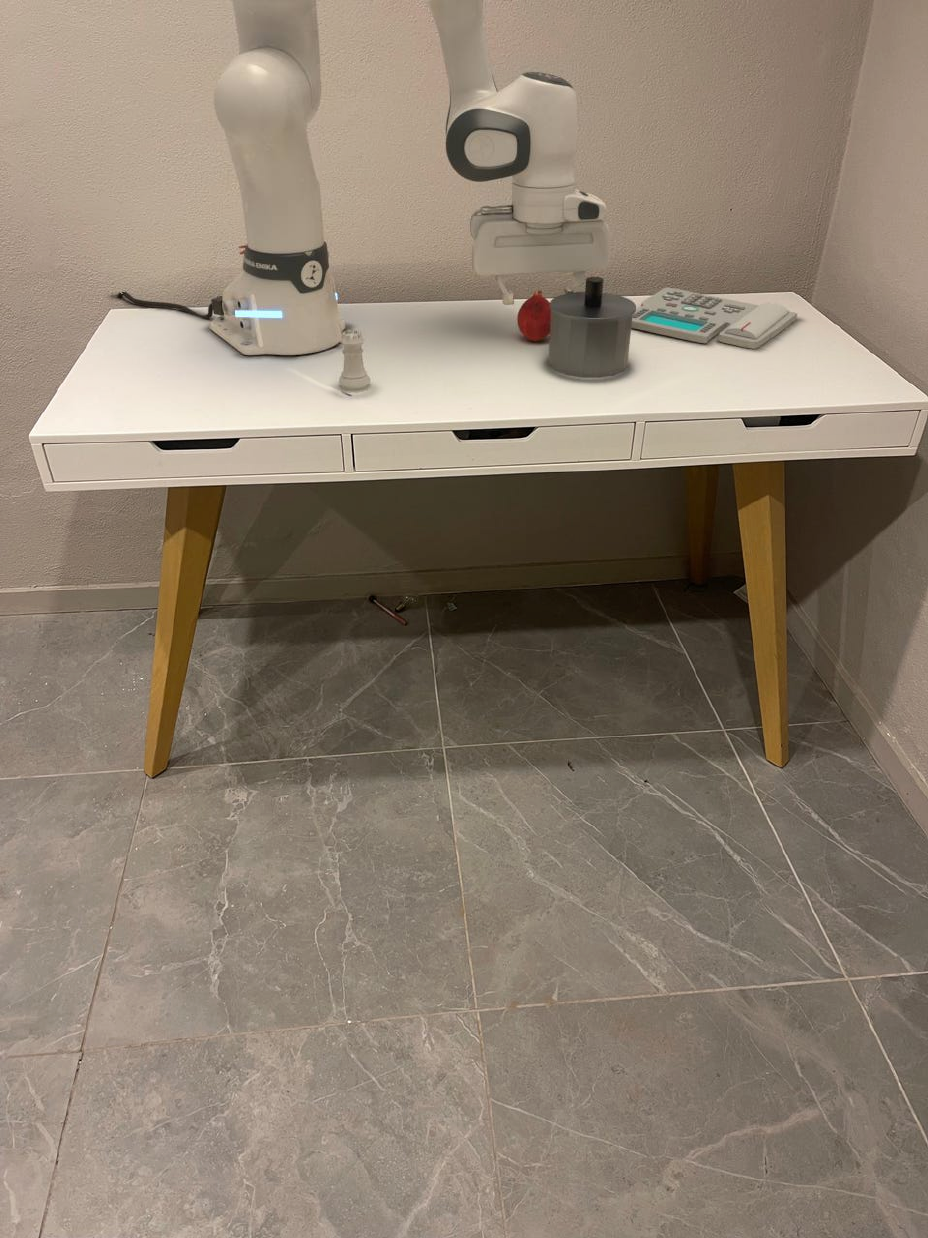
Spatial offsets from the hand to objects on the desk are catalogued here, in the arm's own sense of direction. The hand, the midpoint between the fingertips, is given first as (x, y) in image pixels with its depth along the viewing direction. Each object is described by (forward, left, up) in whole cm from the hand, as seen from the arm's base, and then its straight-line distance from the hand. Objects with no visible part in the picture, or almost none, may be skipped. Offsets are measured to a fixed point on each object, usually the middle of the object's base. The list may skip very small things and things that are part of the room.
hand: (539, 302), depth 145 cm
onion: (0, 0, -6) cm, 6 cm away
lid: (+12, -2, +2) cm, 12 cm away
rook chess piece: (-5, -32, -6) cm, 33 cm away
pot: (+12, -2, -6) cm, 14 cm away
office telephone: (+12, +27, -6) cm, 30 cm away
